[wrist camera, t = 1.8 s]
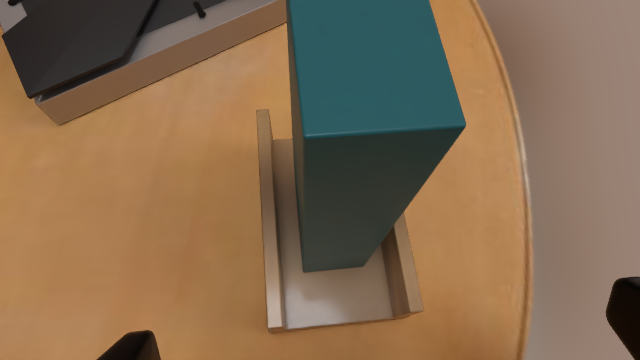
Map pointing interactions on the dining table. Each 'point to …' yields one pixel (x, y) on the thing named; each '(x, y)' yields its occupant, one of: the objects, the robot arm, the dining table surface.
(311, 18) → the teal rectangular block
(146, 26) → the picture frame
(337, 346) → the dining table surface
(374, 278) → the stand
